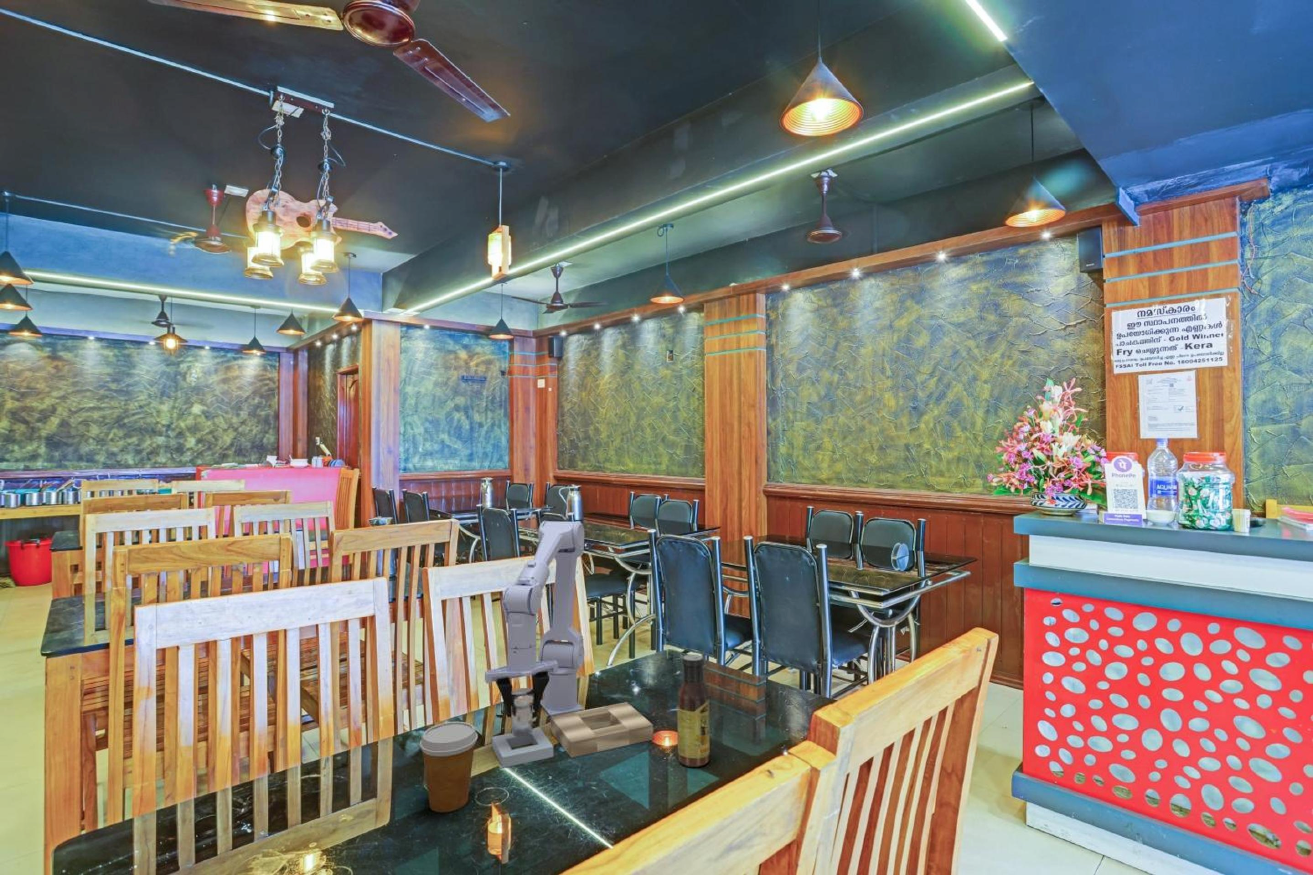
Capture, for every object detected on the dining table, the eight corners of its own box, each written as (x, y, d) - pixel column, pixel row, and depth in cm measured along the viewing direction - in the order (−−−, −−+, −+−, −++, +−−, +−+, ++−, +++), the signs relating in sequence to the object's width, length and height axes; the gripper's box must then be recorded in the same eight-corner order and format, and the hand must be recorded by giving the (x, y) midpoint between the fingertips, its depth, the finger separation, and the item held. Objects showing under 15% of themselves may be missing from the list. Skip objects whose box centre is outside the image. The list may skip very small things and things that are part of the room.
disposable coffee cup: (474, 783, 115) (475, 717, 116) (480, 810, 106) (480, 738, 107) (419, 794, 112) (419, 725, 112) (419, 823, 103) (420, 748, 103)
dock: (550, 730, 138) (550, 716, 138) (626, 715, 146) (626, 701, 146) (571, 757, 125) (571, 742, 125) (653, 739, 133) (653, 724, 133)
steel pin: (507, 730, 129) (507, 690, 129) (531, 725, 131) (531, 686, 132) (512, 739, 125) (512, 698, 125) (537, 734, 127) (537, 694, 127)
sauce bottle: (707, 770, 120) (706, 663, 120) (675, 767, 121) (674, 662, 122) (711, 754, 126) (710, 653, 127) (680, 751, 127) (679, 651, 128)
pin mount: (491, 746, 130) (491, 736, 130) (539, 736, 135) (539, 727, 135) (502, 767, 121) (502, 757, 121) (553, 756, 126) (553, 746, 126)
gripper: (489, 655, 122) (489, 727, 121) (562, 645, 128) (562, 713, 128) (482, 645, 128) (482, 713, 128) (552, 636, 134) (552, 701, 134)
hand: (522, 712), depth 128 cm, fingers closed on steel pin, 5 cm apart
